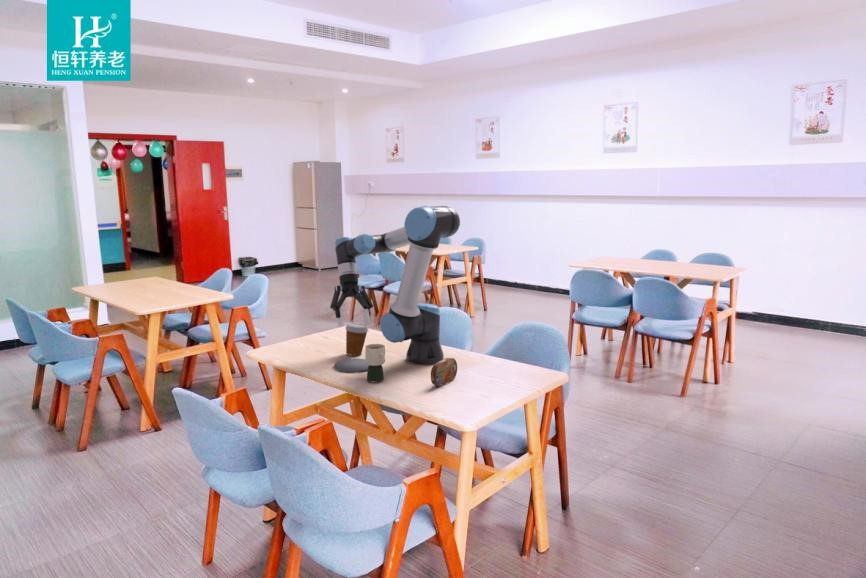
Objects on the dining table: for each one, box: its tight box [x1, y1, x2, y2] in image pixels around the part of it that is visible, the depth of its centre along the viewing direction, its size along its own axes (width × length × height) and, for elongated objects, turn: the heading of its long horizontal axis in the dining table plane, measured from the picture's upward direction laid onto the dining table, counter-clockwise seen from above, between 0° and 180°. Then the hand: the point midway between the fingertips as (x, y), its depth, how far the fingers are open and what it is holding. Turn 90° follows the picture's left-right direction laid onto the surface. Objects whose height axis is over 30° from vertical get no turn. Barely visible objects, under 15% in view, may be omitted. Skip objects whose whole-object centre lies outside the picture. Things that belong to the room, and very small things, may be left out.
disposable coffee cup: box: [345, 322, 369, 356], centre depth 246 cm, size 10×10×12 cm
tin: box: [430, 357, 458, 388], centre depth 212 cm, size 15×3×8 cm, turn 148°
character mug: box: [364, 343, 386, 383], centre depth 213 cm, size 11×7×13 cm, turn 39°
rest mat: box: [333, 358, 369, 374], centre depth 231 cm, size 16×16×1 cm
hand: (354, 325), depth 241 cm, fingers open, 13 cm apart
